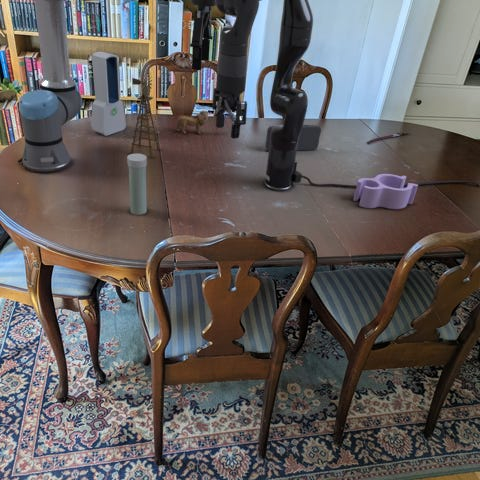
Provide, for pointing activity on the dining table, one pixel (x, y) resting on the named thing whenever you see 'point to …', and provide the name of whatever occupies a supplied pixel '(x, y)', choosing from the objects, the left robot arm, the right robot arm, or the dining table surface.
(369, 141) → the sword
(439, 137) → the dining table surface
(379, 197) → the clip
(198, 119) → the lion figurine
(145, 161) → the lid
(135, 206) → the green bottle
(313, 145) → the handheld gaming console
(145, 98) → the miniature windmill
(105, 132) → the electronic device
